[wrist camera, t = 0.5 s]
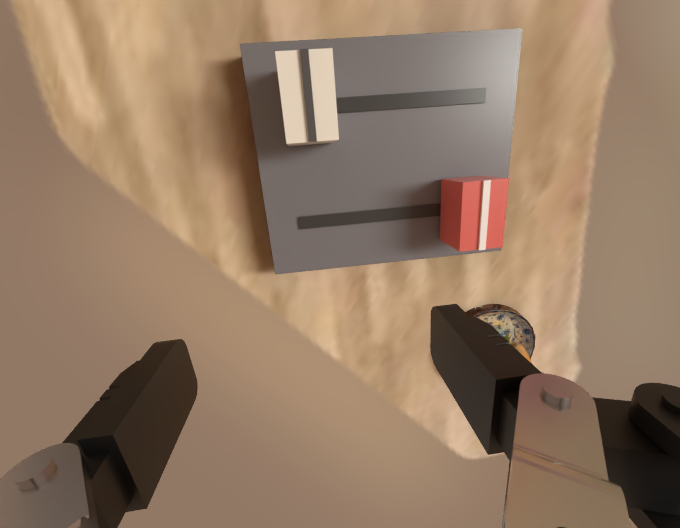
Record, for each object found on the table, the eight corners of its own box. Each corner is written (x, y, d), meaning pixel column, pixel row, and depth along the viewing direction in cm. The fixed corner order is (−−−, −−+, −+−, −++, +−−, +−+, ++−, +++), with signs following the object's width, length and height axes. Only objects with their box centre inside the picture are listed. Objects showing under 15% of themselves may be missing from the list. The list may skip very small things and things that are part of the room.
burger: (446, 304, 39) (478, 336, 32) (535, 301, 40) (584, 332, 33) (435, 384, 43) (461, 429, 36) (517, 379, 44) (557, 422, 37)
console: (246, 55, 28) (239, 42, 25) (501, 40, 30) (523, 27, 27) (277, 264, 35) (275, 274, 32) (486, 243, 36) (502, 250, 33)
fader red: (441, 179, 30) (464, 182, 26) (481, 175, 30) (510, 178, 26) (439, 239, 32) (460, 252, 28) (477, 235, 32) (503, 247, 28)
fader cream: (280, 68, 26) (274, 50, 22) (328, 65, 26) (332, 46, 22) (289, 146, 28) (286, 143, 23) (334, 142, 28) (339, 139, 24)
